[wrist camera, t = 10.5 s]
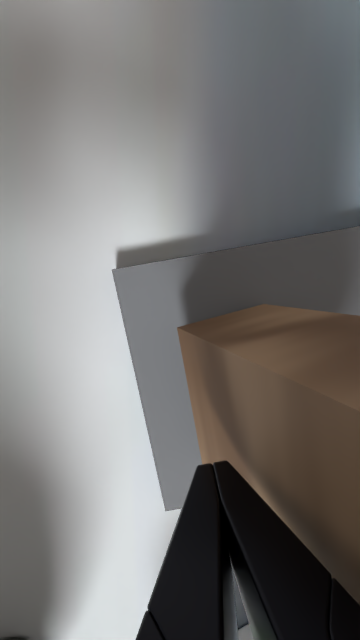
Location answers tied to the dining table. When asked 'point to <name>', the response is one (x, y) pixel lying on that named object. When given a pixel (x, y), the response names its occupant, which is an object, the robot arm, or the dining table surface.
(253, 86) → the dining table surface
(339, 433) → the cream panel wooden box
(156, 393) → the rubber mat
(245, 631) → the ink box
